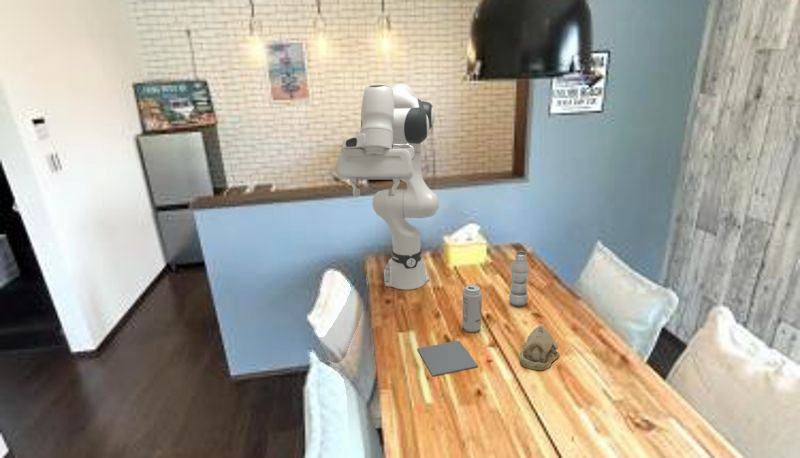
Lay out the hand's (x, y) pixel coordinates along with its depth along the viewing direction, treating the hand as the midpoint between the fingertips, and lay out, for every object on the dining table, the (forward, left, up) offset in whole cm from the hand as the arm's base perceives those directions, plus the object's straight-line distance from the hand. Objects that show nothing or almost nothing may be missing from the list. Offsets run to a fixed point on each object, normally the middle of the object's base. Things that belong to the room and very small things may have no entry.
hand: (373, 195), depth 121 cm
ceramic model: (+12, +45, -52) cm, 70 cm away
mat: (+4, +19, -51) cm, 55 cm away
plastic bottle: (-19, +56, -52) cm, 79 cm away
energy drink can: (-9, +33, -52) cm, 62 cm away
